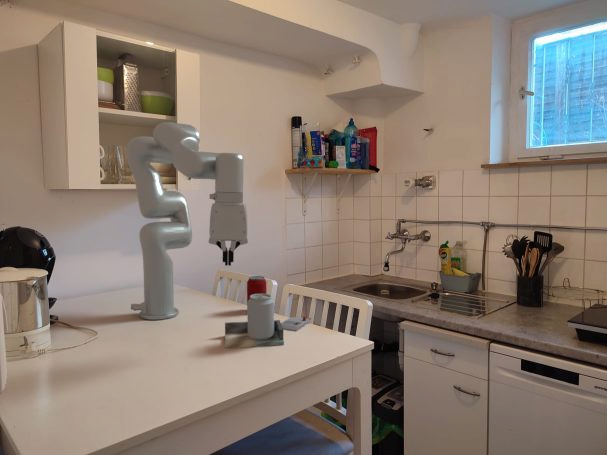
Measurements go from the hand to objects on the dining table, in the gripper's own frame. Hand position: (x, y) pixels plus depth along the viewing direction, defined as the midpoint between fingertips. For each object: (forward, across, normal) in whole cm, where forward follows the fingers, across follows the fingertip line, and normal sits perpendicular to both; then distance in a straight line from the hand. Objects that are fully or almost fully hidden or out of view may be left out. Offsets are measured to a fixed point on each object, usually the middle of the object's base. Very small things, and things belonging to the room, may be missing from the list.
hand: (227, 264), depth 124 cm
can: (+21, +10, -1) cm, 23 cm away
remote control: (+23, +22, +12) cm, 33 cm away
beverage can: (+23, +11, +30) cm, 39 cm away
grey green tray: (+22, +8, -1) cm, 23 cm away
